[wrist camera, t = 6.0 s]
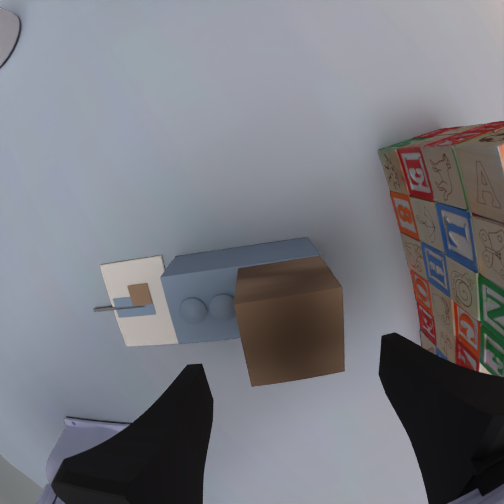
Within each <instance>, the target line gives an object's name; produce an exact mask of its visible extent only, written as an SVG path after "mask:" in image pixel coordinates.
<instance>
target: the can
mask: <svg viewBox="0 0 504 504" xmlns="http://www.w3.org/2000/svg"><path fill="white" fill-rule="evenodd" d="M19 30H20V25H19V19H18V17H17V16H16V15H14V14H12V13H11V12H9V11H6V10H4V9H2V8H0V66H1V65H2V64H3V63H4V62H5V61H6V60H7V58H8V57H9V55H10V54H11V52H12V50H13V48H14V46H15V44H16V42H17V39H18V36H19Z"/></svg>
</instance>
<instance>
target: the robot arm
mask: <svg viewBox="0 0 504 504" xmlns="http://www.w3.org/2000/svg"><path fill="white" fill-rule="evenodd" d="M379 377H380V379H381V382H382V385H383V388H384V390H385V393H386V395H387V397H388V399H389V400H390V402H391V404H392V406H393V408H394V410H395V411H396V413H397V415H398V417H399V419H400V421H401V422H402V424H403V426H404V428H405V430H406V432H407V434H408V436H409V438H410V441H411V443H412V446H413V449H414V452H415V454H416V457H417V460H418V464H419V467H420V470H421V473H422V477H423V481H424V485H425V489H426V493H427V498H428V503H429V504H504V377H501V376H495V375H490V374H486V373H482V372H478V371H475V370H471V369H469V368H466V367H463V366H460V365H457V364H455V363H452V362H450V361H448V360H446V359H444V358H442V357H439V356H437V355H435V354H434V353H432V352H430V351H428V350H426V349H424V348H422V347H421V346H419V345H417V344H415V343H414V342H412V341H410V340H408V339H407V338H405V337H403V336H401V335H399V334H397V333H391V334H387V335H383V336H382V339H381V353H380V365H379ZM64 422H65V423H66V425H67V426H66V428H65V430H64V431H63V433H62V435H61V437H60V438H59V440H58V442H57V444H56V445H55V447H54V449H53V451H52V452H51V454H50V456H49V458H48V460H47V465H46V476H47V480H48V482H49V484H46V486H45V487H44V489H43V491H42V492H41V494H40V496H39V498H38V500H37V502H36V504H203V478H204V467H205V461H206V455H207V450H208V444H209V439H210V433H211V428H212V422H213V397H212V394H211V391H210V388H209V385H208V382H207V378H206V375H205V372H204V368H203V365H202V364H190V365H187V366H186V367H185V368H184V369H183V371H182V372H181V373H180V374H179V375H178V377H177V378H176V379H175V380H174V381H173V383H172V384H171V385H170V386H169V387H168V389H167V390H166V391H165V392H164V393H163V394H162V395H161V397H160V398H159V399H158V400H157V401H156V402H155V403H154V404H153V405H152V406H151V407H150V408H149V409H148V410H147V411H146V412H145V413H143V414H142V415H141V416H140V417H139V418H138V419H136V420H135V421H134V422H133V423H131V424H118V423H106V422H97V421H88V420H80V419H73V418H65V419H64Z"/></svg>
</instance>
